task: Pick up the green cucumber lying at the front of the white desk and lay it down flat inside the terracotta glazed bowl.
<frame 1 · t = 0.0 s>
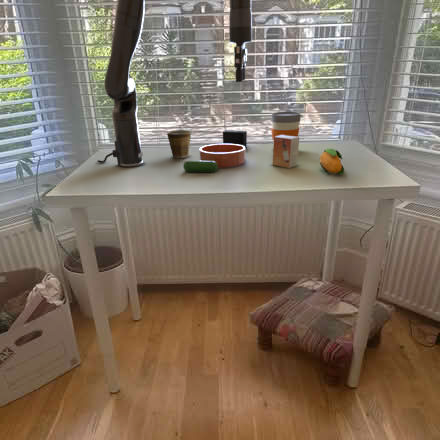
hand: (240, 80, 141), 29 cm above the table, tool pointing down, fingers open, 8 cm apart
digital camera: (235, 147, 187), on the table
small box: (284, 165, 154), on the table
reusable coffee cup: (284, 150, 177), on the table
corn: (332, 173, 143), on the table
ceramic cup: (179, 156, 174), on the table
cucumber: (200, 171, 150), on the table
bowl: (222, 162, 161), on the table
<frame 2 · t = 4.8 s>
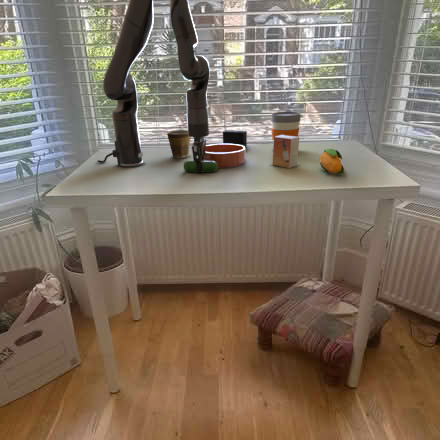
hand: (200, 170, 149), 0 cm above the table, tool pointing down, fingers closed on cucumber, 4 cm apart
cucumber: (200, 171, 150), on the table, touching gripper
everything else where it was.
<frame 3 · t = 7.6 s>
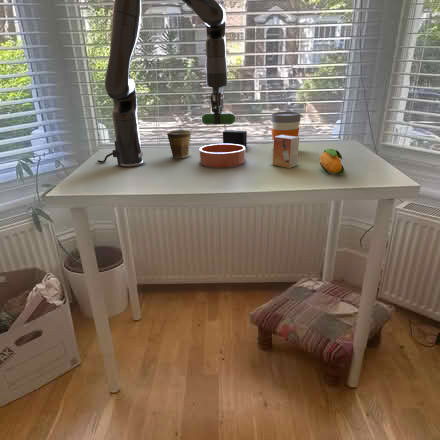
hand: (218, 123, 151), 15 cm above the table, tool pointing down, fingers closed on cucumber, 4 cm apart
cucumber: (218, 124, 151), point 15 cm above the table, touching gripper
everything else where it was.
when the fingers open (1 cm above the table, at t = 10.5 s): cucumber stays where it is, resting on bowl.
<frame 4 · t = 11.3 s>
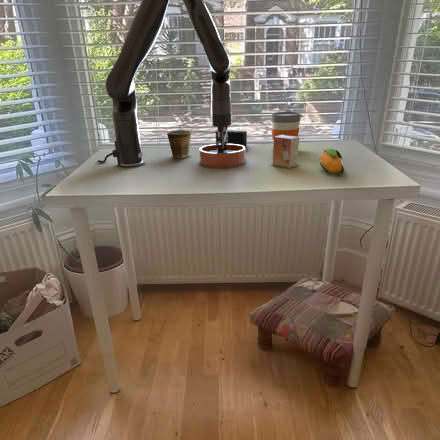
hand: (222, 156, 160), 2 cm above the table, tool pointing down, fingers open, 8 cm apart
cucumber: (222, 161, 161), point 1 cm above the table, touching bowl
everything else where it was.
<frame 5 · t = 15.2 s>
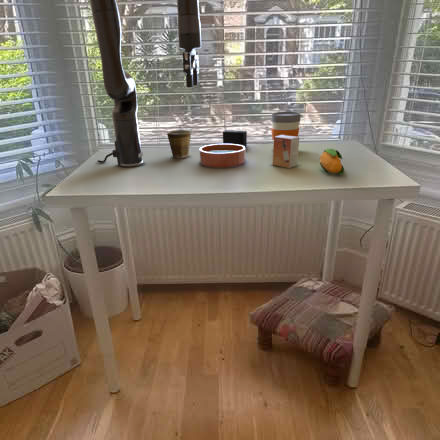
hand: (192, 86, 142), 28 cm above the table, tool pointing down, fingers open, 8 cm apart
nothing on the table moved.
at the end: cucumber inside the target area in the bowl (0.1 cm from its centre), point 0.5 cm above the bowl's base; cucumber tilted 2°; the gripper is holding nothing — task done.
